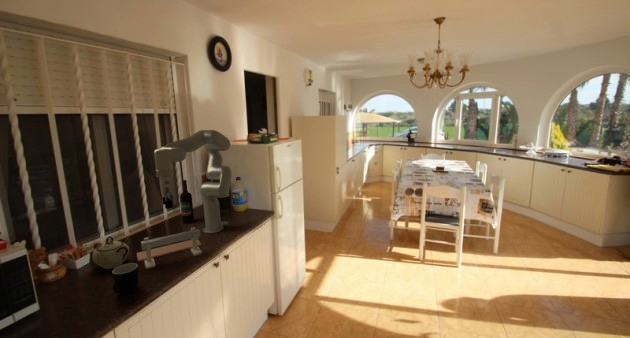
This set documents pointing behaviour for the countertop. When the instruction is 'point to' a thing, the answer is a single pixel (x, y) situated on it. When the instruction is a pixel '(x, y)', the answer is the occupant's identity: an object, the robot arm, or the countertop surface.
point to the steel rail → (170, 239)
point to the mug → (125, 278)
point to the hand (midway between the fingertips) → (167, 206)
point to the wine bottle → (186, 205)
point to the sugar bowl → (110, 253)
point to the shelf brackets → (150, 262)
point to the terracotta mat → (167, 249)
